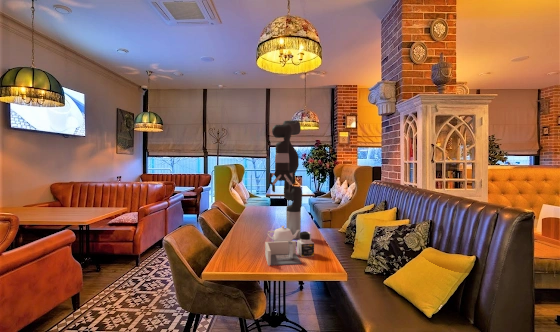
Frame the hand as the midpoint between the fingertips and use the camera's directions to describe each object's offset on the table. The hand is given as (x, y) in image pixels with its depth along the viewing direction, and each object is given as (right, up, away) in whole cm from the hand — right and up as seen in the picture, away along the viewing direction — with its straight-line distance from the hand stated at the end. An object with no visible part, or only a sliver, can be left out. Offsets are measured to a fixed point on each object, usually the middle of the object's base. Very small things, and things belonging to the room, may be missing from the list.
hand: (282, 192), depth 158 cm
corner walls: (+1, -33, -10) cm, 35 cm away
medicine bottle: (+13, -33, -1) cm, 36 cm away
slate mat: (+1, -33, -10) cm, 35 cm away
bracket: (+1, -33, -10) cm, 34 cm away
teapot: (+1, -33, +21) cm, 39 cm away
